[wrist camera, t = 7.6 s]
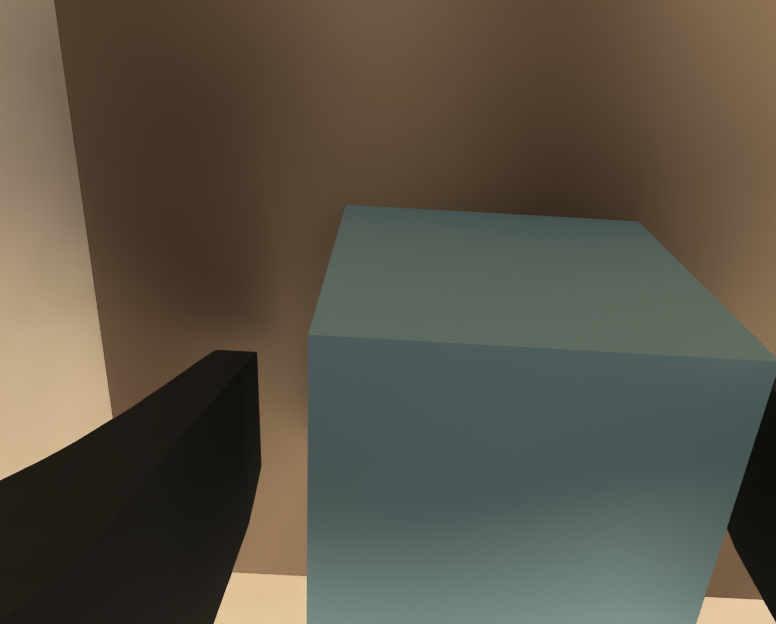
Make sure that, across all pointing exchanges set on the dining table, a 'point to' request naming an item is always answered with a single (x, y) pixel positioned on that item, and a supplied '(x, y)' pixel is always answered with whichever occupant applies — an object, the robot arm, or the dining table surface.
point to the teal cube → (520, 423)
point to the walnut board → (395, 169)
